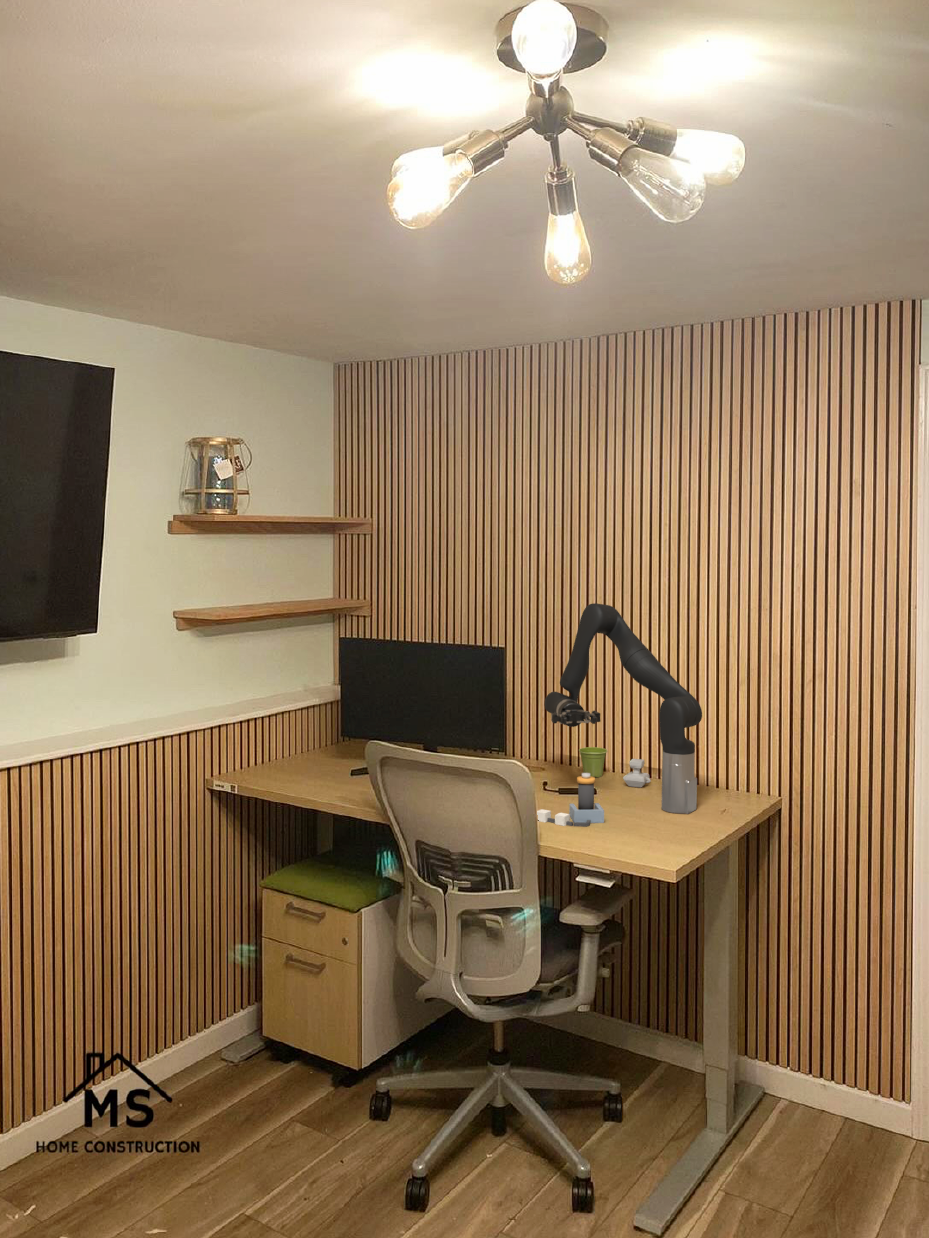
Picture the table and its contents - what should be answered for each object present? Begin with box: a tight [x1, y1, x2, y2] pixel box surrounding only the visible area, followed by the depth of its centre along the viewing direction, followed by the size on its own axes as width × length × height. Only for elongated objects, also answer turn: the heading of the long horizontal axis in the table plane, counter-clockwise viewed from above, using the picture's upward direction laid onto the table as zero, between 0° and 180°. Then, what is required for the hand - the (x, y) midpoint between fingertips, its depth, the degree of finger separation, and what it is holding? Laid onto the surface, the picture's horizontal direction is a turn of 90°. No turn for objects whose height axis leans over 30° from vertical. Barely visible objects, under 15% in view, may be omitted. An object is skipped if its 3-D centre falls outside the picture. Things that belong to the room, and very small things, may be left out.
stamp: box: [622, 758, 651, 788], centre depth 322 cm, size 9×7×8 cm
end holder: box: [568, 802, 605, 824], centre depth 286 cm, size 8×8×4 cm
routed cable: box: [536, 808, 592, 827], centre depth 282 cm, size 15×7×3 cm, turn 54°
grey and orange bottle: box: [576, 772, 596, 810], centre depth 285 cm, size 5×5×12 cm
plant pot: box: [578, 746, 608, 778], centre depth 336 cm, size 9×9×9 cm
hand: (579, 720), depth 294 cm, fingers open, 8 cm apart
